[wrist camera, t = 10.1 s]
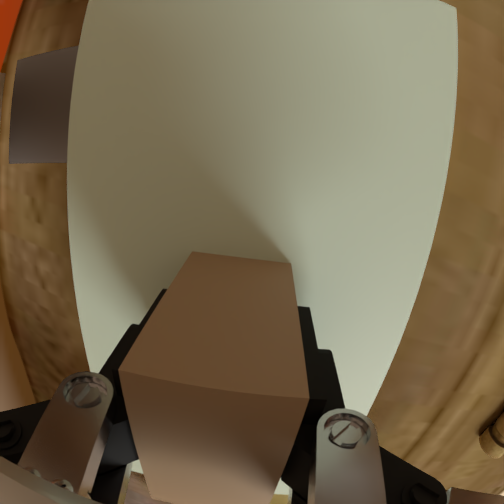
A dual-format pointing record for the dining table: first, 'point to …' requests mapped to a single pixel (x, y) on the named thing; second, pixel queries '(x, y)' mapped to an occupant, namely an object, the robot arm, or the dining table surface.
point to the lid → (251, 214)
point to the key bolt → (1, 89)
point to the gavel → (493, 439)
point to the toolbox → (42, 107)
